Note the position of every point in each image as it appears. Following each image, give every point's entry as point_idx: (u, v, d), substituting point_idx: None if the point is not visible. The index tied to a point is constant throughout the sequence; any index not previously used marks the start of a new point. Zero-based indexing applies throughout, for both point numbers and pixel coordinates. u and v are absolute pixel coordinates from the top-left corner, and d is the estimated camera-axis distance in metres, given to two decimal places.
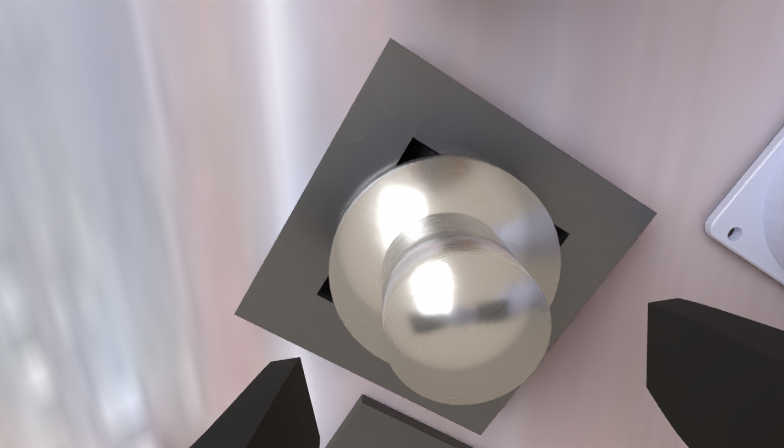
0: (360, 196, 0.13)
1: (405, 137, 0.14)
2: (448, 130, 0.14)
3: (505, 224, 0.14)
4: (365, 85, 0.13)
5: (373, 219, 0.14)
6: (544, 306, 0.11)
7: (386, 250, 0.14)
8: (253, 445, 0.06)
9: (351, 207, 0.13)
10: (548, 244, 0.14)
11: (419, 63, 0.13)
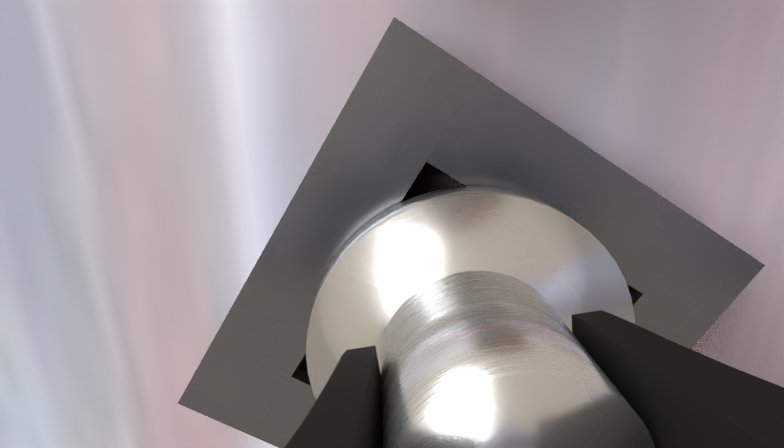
0: (350, 248, 0.09)
1: (415, 162, 0.09)
2: (477, 152, 0.09)
3: (559, 286, 0.10)
4: (357, 87, 0.09)
5: (369, 281, 0.09)
6: None
7: (388, 324, 0.10)
8: (360, 429, 0.06)
9: (337, 264, 0.09)
10: (619, 314, 0.10)
11: (436, 55, 0.09)
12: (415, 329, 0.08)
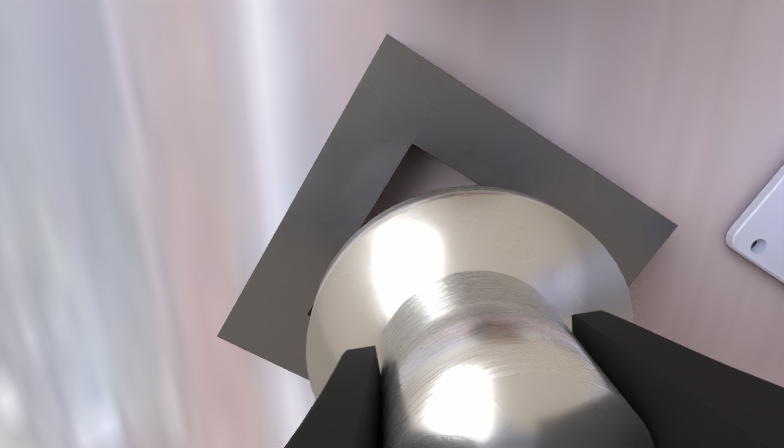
0: (350, 248, 0.09)
1: (403, 143, 0.12)
2: (451, 136, 0.12)
3: (558, 286, 0.10)
4: (359, 86, 0.12)
5: (369, 280, 0.09)
6: None
7: (388, 323, 0.10)
8: (360, 428, 0.06)
9: (337, 263, 0.09)
10: (619, 314, 0.10)
11: (419, 62, 0.12)
12: (415, 329, 0.08)
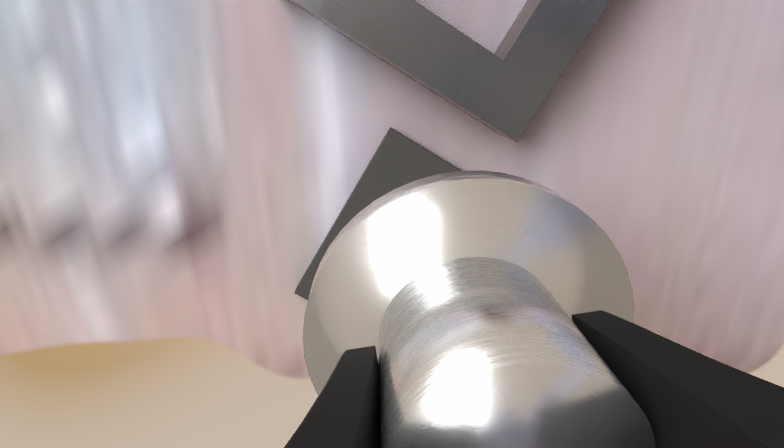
0: (351, 230, 0.09)
1: None
2: None
3: (560, 275, 0.09)
4: None
5: (369, 264, 0.09)
6: (647, 441, 0.06)
7: (387, 307, 0.09)
8: (360, 428, 0.06)
9: (337, 246, 0.09)
10: (618, 304, 0.10)
11: None
12: (416, 314, 0.08)
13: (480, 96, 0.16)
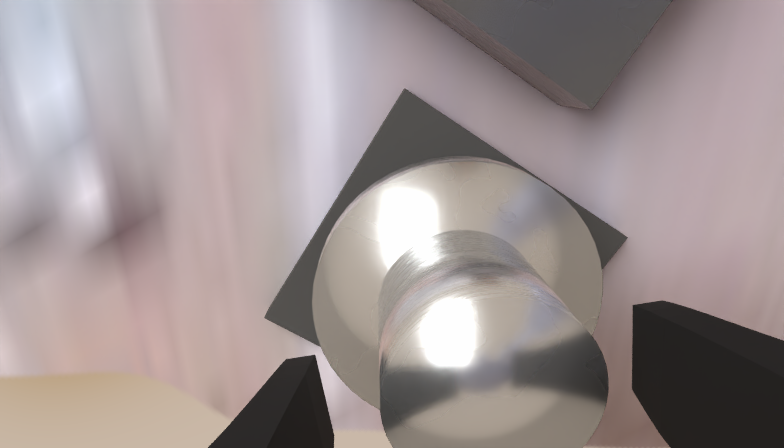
0: (355, 206, 0.10)
1: None
2: None
3: (536, 246, 0.11)
4: None
5: (370, 235, 0.11)
6: (600, 368, 0.08)
7: (385, 275, 0.11)
8: (274, 442, 0.06)
9: (343, 219, 0.11)
10: (589, 273, 0.11)
11: None
12: (409, 273, 0.10)
13: (543, 38, 0.11)
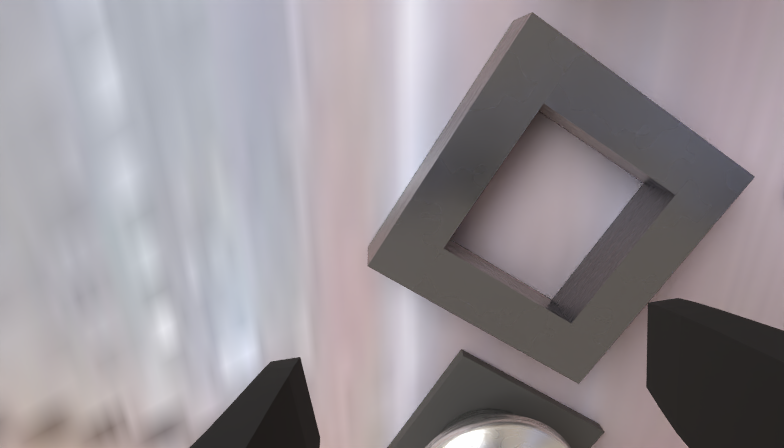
0: None
1: (537, 103, 0.15)
2: (575, 97, 0.15)
3: None
4: (506, 55, 0.15)
5: None
6: None
7: None
8: (253, 445, 0.06)
9: None
10: None
11: (555, 36, 0.15)
12: None
13: (549, 349, 0.18)
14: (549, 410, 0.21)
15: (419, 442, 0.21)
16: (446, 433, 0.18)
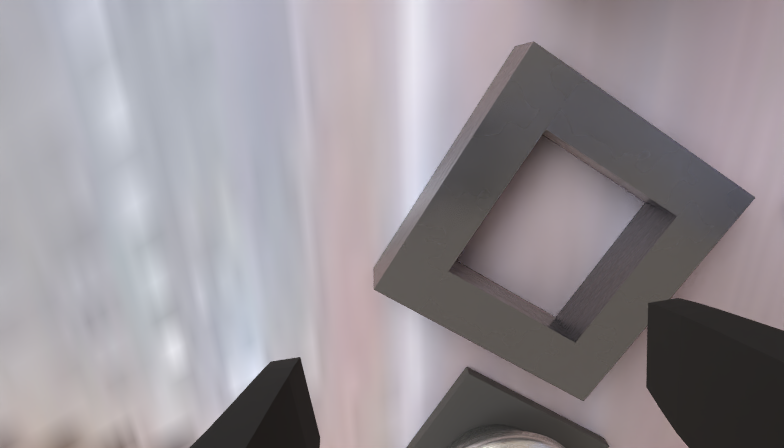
0: None
1: (539, 129, 0.15)
2: (577, 123, 0.15)
3: None
4: (508, 83, 0.15)
5: None
6: None
7: None
8: (253, 445, 0.06)
9: None
10: None
11: (557, 64, 0.15)
12: None
13: (554, 368, 0.18)
14: (554, 425, 0.21)
15: None
16: None
